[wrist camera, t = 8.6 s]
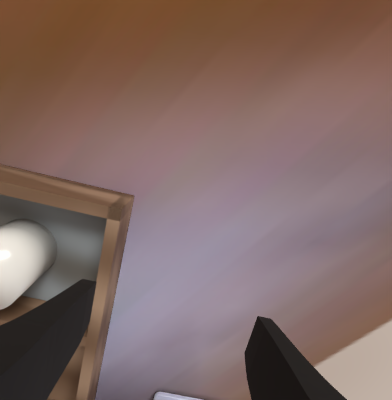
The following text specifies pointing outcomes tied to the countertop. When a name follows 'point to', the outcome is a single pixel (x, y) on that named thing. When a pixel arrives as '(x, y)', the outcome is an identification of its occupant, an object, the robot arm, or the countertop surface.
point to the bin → (71, 258)
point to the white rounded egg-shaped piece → (23, 257)
